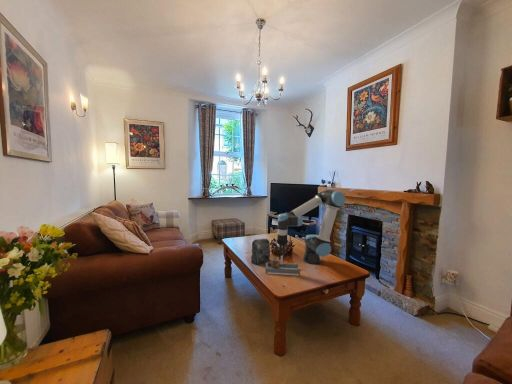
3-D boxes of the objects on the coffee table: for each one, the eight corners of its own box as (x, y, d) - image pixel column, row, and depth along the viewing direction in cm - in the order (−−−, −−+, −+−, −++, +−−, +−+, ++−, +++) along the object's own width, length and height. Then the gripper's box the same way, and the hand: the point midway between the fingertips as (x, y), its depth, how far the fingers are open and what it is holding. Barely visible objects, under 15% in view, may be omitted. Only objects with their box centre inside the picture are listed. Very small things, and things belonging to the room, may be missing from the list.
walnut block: (278, 266, 181) (278, 257, 180) (278, 271, 173) (279, 261, 172) (271, 266, 181) (271, 256, 180) (271, 270, 173) (271, 260, 172)
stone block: (255, 265, 185) (255, 242, 183) (249, 262, 192) (249, 239, 191) (272, 261, 195) (273, 238, 193) (266, 257, 203) (267, 236, 201)
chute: (297, 268, 182) (297, 263, 181) (299, 275, 169) (299, 270, 169) (265, 266, 184) (266, 261, 183) (265, 273, 171) (265, 268, 171)
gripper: (290, 233, 177) (289, 262, 179) (274, 232, 178) (273, 261, 180) (291, 235, 170) (290, 266, 172) (273, 235, 171) (273, 265, 173)
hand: (281, 263), depth 176 cm, fingers closed
